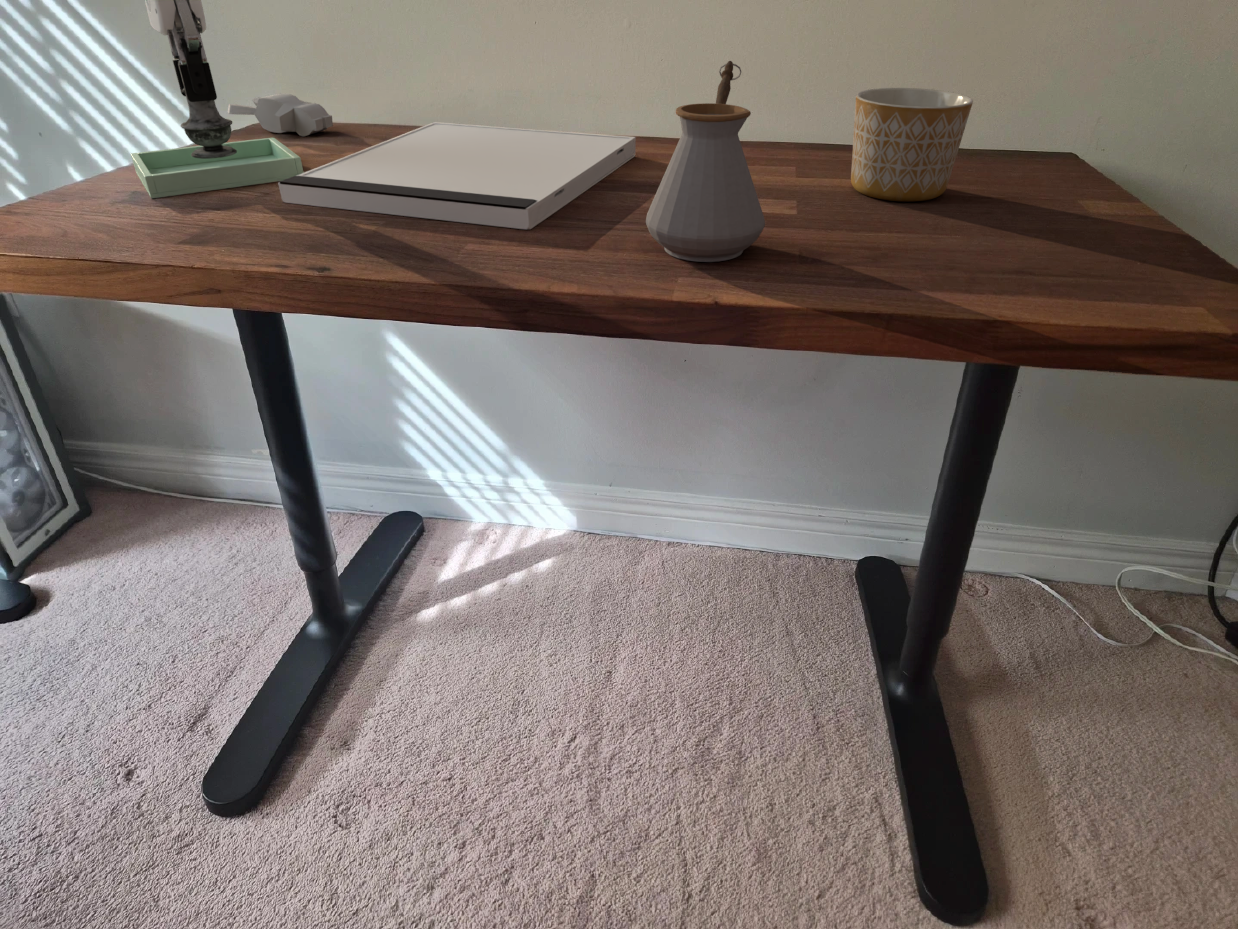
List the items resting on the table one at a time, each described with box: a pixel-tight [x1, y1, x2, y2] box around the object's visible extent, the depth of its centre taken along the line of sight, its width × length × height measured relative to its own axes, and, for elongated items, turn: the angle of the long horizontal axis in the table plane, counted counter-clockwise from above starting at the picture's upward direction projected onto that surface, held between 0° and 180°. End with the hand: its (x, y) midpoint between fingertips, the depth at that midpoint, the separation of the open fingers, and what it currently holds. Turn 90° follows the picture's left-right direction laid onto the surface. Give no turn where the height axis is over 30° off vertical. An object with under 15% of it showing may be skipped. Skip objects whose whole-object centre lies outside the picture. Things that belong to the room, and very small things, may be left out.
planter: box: [850, 87, 974, 203], centre depth 97 cm, size 13×13×10 cm
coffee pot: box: [645, 60, 766, 263], centre depth 82 cm, size 21×12×15 cm, turn 167°
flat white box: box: [277, 121, 637, 231], centre depth 104 cm, size 35×2×31 cm
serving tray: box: [130, 137, 305, 199], centre depth 105 cm, size 18×14×2 cm
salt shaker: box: [178, 59, 237, 159], centre depth 100 cm, size 6×6×12 cm
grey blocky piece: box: [227, 92, 334, 137], centre depth 127 cm, size 10×5×15 cm
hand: (199, 96), depth 100 cm, fingers closed on salt shaker, 3 cm apart
